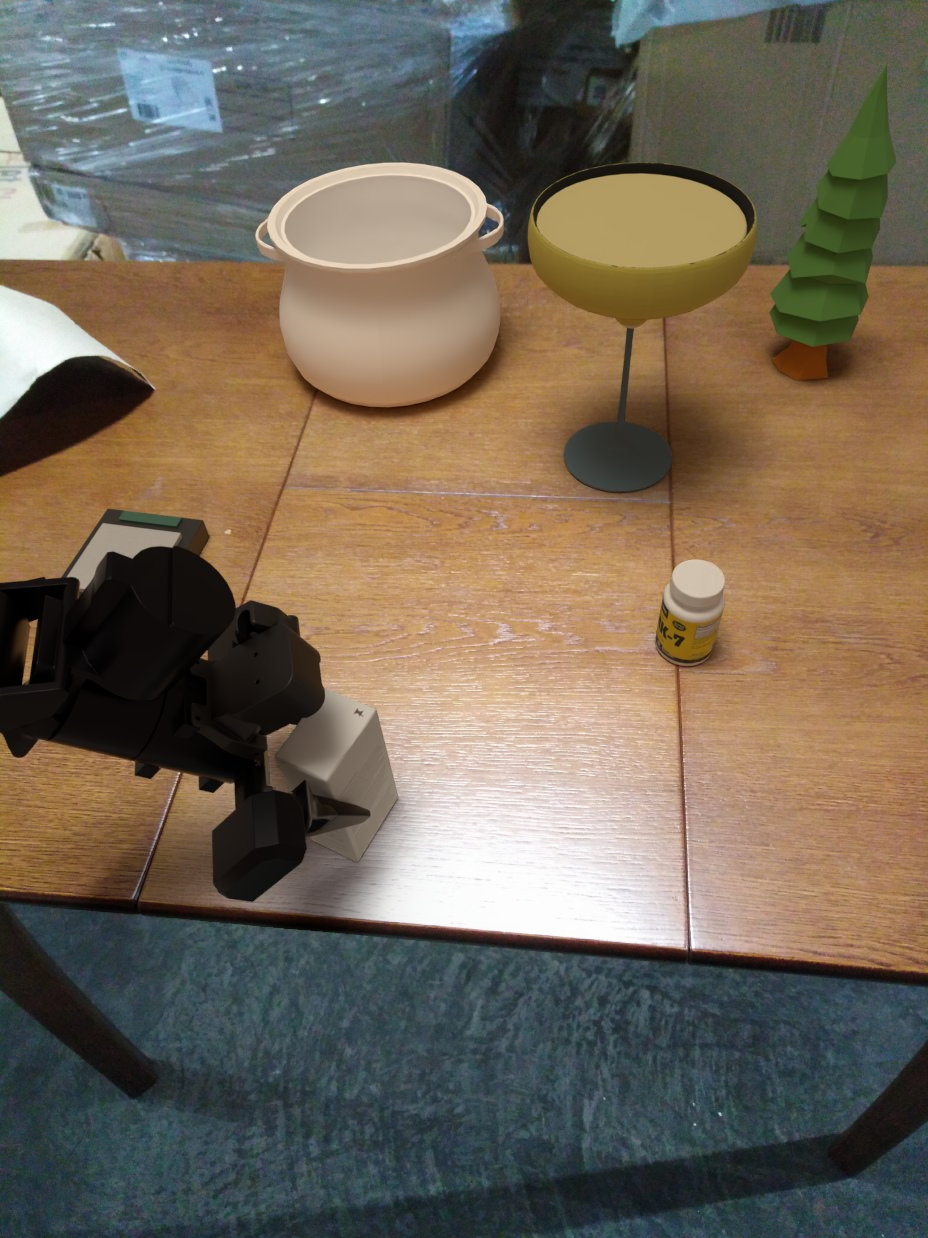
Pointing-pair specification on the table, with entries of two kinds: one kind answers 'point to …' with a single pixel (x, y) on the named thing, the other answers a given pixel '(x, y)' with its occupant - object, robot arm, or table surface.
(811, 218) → the decorative tree
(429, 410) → the table surface
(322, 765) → the cosmetic box
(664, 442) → the cocktail glass
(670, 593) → the supplement bottle
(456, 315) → the pot
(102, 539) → the kitchen scale
